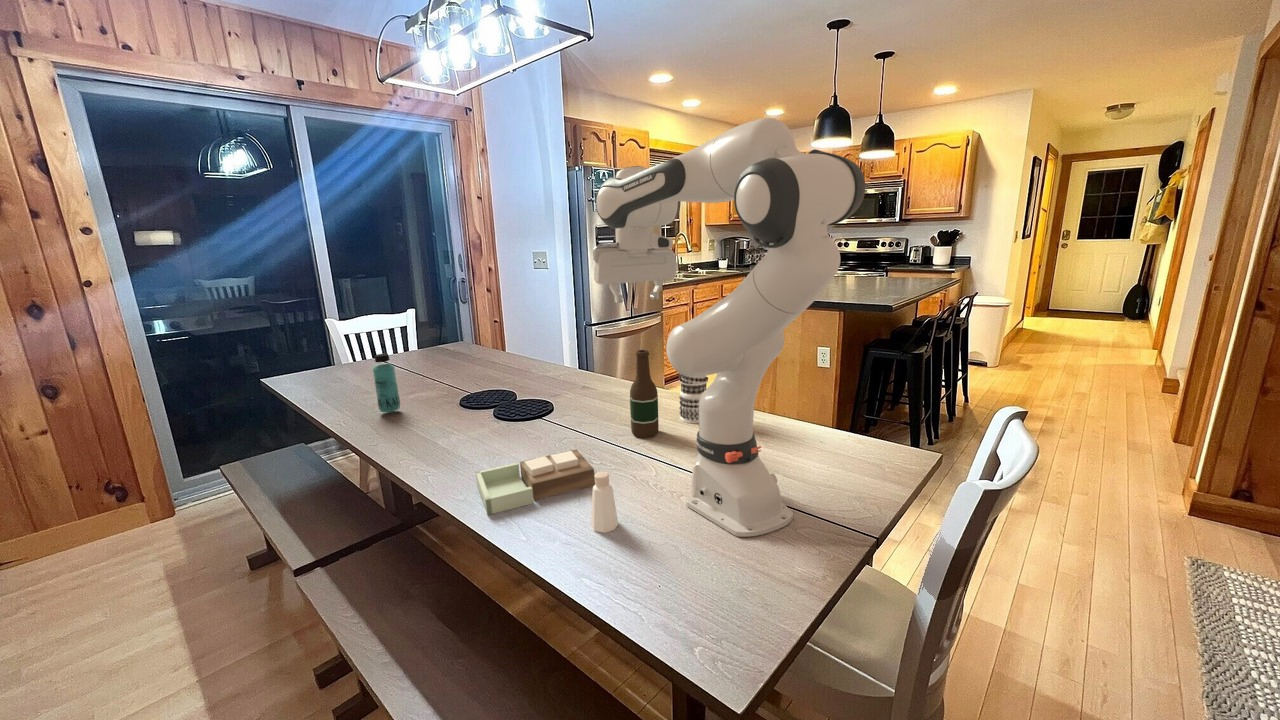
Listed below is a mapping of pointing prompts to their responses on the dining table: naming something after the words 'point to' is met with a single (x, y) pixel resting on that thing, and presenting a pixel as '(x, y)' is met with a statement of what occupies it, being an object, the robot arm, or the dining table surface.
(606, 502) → the salt shaker
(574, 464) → the tile
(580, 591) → the dining table surface
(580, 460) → the wooden tile base
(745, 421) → the robot arm
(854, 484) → the dining table surface
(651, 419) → the beer bottle
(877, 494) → the dining table surface
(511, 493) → the tray
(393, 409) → the beverage bottle
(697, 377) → the decorative candle
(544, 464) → the tile
